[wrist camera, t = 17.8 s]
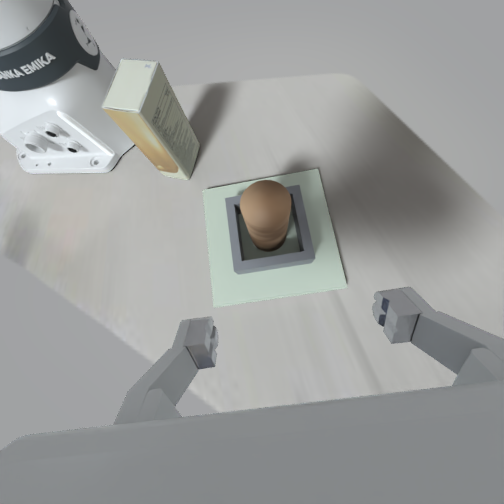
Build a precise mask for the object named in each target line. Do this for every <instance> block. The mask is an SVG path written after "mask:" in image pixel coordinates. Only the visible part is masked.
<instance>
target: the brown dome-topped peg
mask: <svg viewBox="0 0 504 504" xmlns="http://www.w3.org/2000/svg"><path fill="white" fill-rule="evenodd" d="M240 209H241V213H242V215H243V218H244V221H245V223H246V226H247V229H248V231H249V234H250V237H251V240H252V242H253V244H254V245H255V246H256V247H257V248H258V249H260V250H262V251H265V252H271V251H275V250H277V249H279V248H280V247H281V246H282V245H283V244H284V242H285V239H286V234H287V228H288V222H289V216H290V210H291V196H290V194H289V192H288V190H287V189H286V188H285V187H284V186H283V185H282V184H280V183H278V182H276V181H273V180H261V181H257V182H255V183H253V184H251V185H250V186H249V187H247V188H246V190H245V191H244V192H243V194H242V196H241V199H240Z"/></svg>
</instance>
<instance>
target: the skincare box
mask: <svg viewBox="0 0 504 504" xmlns="http://www.w3.org/2000/svg"><path fill="white" fill-rule="evenodd" d="M102 109H103V110H104V111H105V112H106V113H107V114H108V115H109V116H110V117H111V118H112V120H113V121H114V122H115V123H116V124H117V125H118V126H119V127H120V128H121V129H122V130H123V132H124V133H125V134H126V135H127V136H128V137H129V138H130V139H131V140H132V141H133V143H134V144H135V145H136V146H137V147H138V148H139V149H140V150H141V151H142V152H143V154H144V155H145V156H146V157H147V158H148V159H149V160H150V161H151V162H152V163H153V164H154V166H155V167H156V168H157V169H158V170H159V171H160V172H161V173H162V174H163V175H164V176H167V177H172V178H178V179H184V180H189V179H190V176H191V173H192V170H193V167H194V164H195V161H196V157H197V154H198V150H199V147H200V144H199V142H198V140H197V138H196V136H195V134H194V132H193V130H192V128H191V126H190V124H189V122H188V120H187V118H186V116H185V114H184V112H183V110H182V108H181V106H180V104H179V102H178V100H177V98H176V96H175V94H174V92H173V90H172V88H171V86H170V84H169V82H168V80H167V78H166V76H165V74H164V72H163V70H162V68H161V66H160V64H159V62H158V61H151V60H140V59H139V60H138V59H124V58H123V59H121V61H120V63H119V65H118V67H117V70H116V72H115V74H114V76H113V79H112V81H111V84H110V86H109V89H108V91H107V94H106V96H105V99H104V102H103V104H102Z"/></svg>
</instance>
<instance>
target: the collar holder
mask: <svg viewBox="0 0 504 504" xmlns="http://www.w3.org/2000/svg"><path fill="white" fill-rule="evenodd" d="M261 180H273V181H276V182H278V183H280V184H282V185H283V186H284V187H285V188H286V189H287V190H288V192H289V194H290V196H291V210H290V216H289V222H288V228H287V234H286V239H285V242H284V244H283V245H282V246H281V247H280V248H279V249H277V250H275V251H271V252H265V251H262V250H260V249H258V248H257V247H256V246H255V245H254V244H253V242H252V240H251V237H250V234H249V231H248V229H247V226H246V223H245V221H244V218H243V215H242V213H241V209H240V199H241V196H242V194H243V192H244V191H245V190H246V188H247V187H249V186H250V185H251V184H253V183H255V182H257V181H261ZM202 191H203V201H204V212H205V222H206V233H207V243H208V253H209V264H210V274H211V285H212V295H213V306H214V308H215V307H222V306H229V305H236V304H243V303H249V302H256V301H263V300H270V299H277V298H283V297H290V296H297V295H304V294H310V293H317V292H324V291H331V290H338V289H344V288H347V284H346V280H345V276H344V272H343V268H342V264H341V259H340V255H339V251H338V247H337V243H336V239H335V235H334V231H333V227H332V223H331V219H330V215H329V211H328V207H327V203H326V199H325V195H324V191H323V186H322V182H321V178H320V174H319V170H318V169H313V170H308V171H302V172H297V173H291V174H286V175H281V176H275V177H270V178H264V179H259V180H254V181H248V182H243V183H237V184H232V185H227V186H221V187H216V188H211V189H205V190H202Z"/></svg>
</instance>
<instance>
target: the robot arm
mask: <svg viewBox="0 0 504 504" xmlns="http://www.w3.org/2000/svg"><path fill="white" fill-rule="evenodd" d="M115 72H116V69H115V68H114V67H113V66H112V65H111V63H110V62H109V61H108V60H107V58H106V57H105V56H104V55H103V53H102V52H101V51H100V50H99V47H98V45H97V43H96V42H95V40H94V38H93V37H92V35H91V33H90V32H89V30H88V28H87V27H86V25H85V24H84V22H83V21H82V20H81V18H80V17H79V16H78V14H77V13H76V11H75V10H74V9H73V7H72V6H71V4H70V3H69V2H68V0H0V135H1V136H2V137H3V138H4V139H5V140H6V141H8V142H9V143H10V144H12V145H13V146H15V147H16V151H17V158H18V161H19V164H20V166H21V167H22V169H23V170H25V171H26V172H28V173H31V174H44V173H105V172H109V171H110V170H112V169H113V167H114V166H115V165H116V163H117V162H118V160H119V158H120V157H121V156H122V155H123V154H124V153H125V152H126V151H127V150H129V149H130V148H131V147H132V146H133V145H134V143H133V141H132V140H131V139H130V138H129V137H128V136H127V135H126V134H125V133H124V132H123V130H122V129H121V128H120V127H119V126H118V125H117V124H116V123H115V122H114V121H113V120H112V118H111V117H110V116H109V115H108V114H107V113H106V112H105V111H104V110H103V109H102V104H103V102H104V99H105V96H106V94H107V91H108V89H109V86H110V84H111V81H112V79H113V76H114V74H115ZM374 299H375V300H376V302H375V303H374V304H373V308H372V310H373V315H374V317H375V320H376V321H377V323H378V324H379V325H381V326H383V327H384V330H383V332H384V333H385V335H386V336H387V338H388V339H389V341H390V342H391V344H394V343H403V342H411V343H412V344H413V345H415V346H416V347H418V348H419V349H421V350H422V351H424V352H425V353H427V354H428V355H429V356H431V357H432V358H434V359H435V360H437V361H438V362H440V363H441V364H443V365H444V366H446V367H447V368H448V369H450V370H451V371H453V372H454V373H456V374H457V377H456V378H455V380H454V382H453V385H452V386H447V387H439V388H430V389H421V390H413V391H404V392H395V393H386V394H378V395H369V396H360V397H352V398H343V399H334V400H326V401H317V402H308V403H300V404H291V405H283V406H274V407H265V408H257V409H248V410H239V411H231V412H222V413H213V414H205V415H196V416H188V417H182V416H181V415H180V413H179V412H178V411H177V409H176V408H175V406H176V404H177V403H178V401H179V400H180V398H181V397H182V395H183V393H184V392H185V391H186V389H187V387H188V386H189V384H190V383H191V381H192V380H193V378H194V377H195V375H196V374H197V372H198V369H205V368H211V367H215V364H216V357H217V353H216V351H215V349H216V348H217V346H218V332H217V328H216V327H215V326H213V323H214V321H213V319H212V317H202V318H194V319H187V320H182V321H181V322H180V325H179V328H178V331H177V334H176V337H175V340H174V343H173V346H172V349H168V350H167V351H166V352H165V354H164V355H163V356H162V357H161V358H160V359H159V360H158V361H157V362H156V363H155V364H154V365H153V366H152V367H151V368H150V369H149V370H148V371H147V372H146V373H145V374H144V375H143V376H142V377H141V378H140V379H139V380H138V381H137V383H136V384H135V385H134V386H133V387H132V388H131V389H130V390H129V391H128V392H127V395H126V397H125V399H124V402H123V404H122V406H121V408H120V411H119V413H118V415H117V418H116V420H115V422H114V424H113V425H109V426H101V427H92V428H83V429H75V430H66V431H57V432H48V433H39V434H30V435H25V436H22V437H19V438H17V439H16V440H14V441H12V442H11V443H10V444H8V445H7V446H6V447H4V448H3V449H2V450H0V504H504V339H502V338H500V337H498V336H495V335H493V334H491V333H488V332H486V331H484V330H481V329H479V328H477V327H475V326H472V325H470V324H468V323H465V322H463V321H461V320H458V319H456V318H454V317H452V316H449V315H447V314H445V313H442V312H440V311H438V312H436V311H435V310H434V309H433V308H432V307H431V306H430V305H429V304H428V303H427V302H426V301H425V300H424V299H423V298H422V297H421V296H420V295H419V294H418V293H417V292H416V291H415V290H414V289H412V288H411V287H404V288H398V289H391V290H384V291H378V292H376V293H375V294H374Z"/></svg>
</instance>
